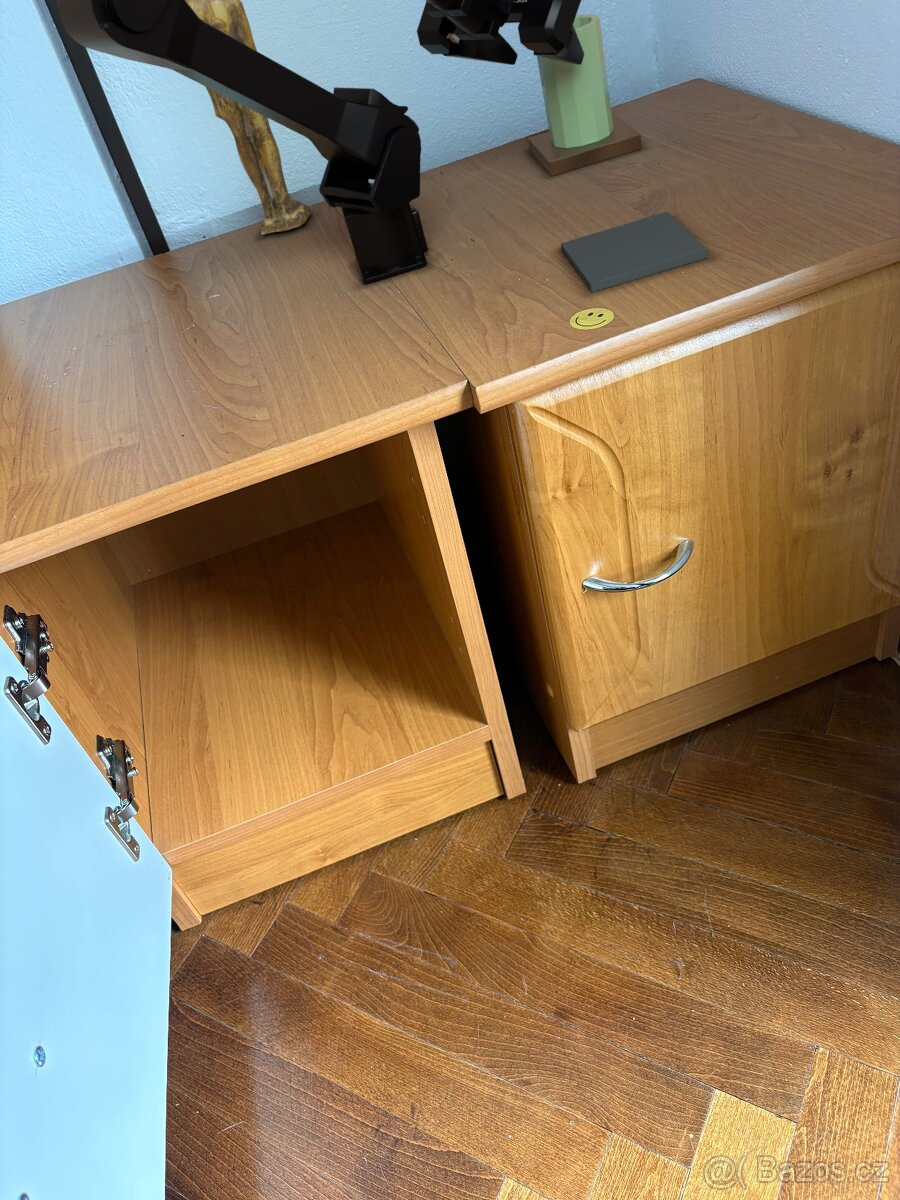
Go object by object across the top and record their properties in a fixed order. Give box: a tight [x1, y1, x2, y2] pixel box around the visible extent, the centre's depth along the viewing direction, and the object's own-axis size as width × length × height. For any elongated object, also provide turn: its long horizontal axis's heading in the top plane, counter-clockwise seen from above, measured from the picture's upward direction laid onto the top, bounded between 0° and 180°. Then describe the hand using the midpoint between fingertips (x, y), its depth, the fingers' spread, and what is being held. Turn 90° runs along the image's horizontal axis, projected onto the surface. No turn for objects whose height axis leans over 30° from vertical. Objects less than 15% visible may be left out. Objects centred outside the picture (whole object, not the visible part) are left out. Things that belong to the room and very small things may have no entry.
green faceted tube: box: [536, 13, 613, 148], centre depth 106 cm, size 7×7×11 cm
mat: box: [560, 211, 708, 293], centre depth 87 cm, size 10×10×1 cm
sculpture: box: [186, 0, 313, 236], centre depth 105 cm, size 7×6×30 cm
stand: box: [527, 111, 643, 177], centre depth 109 cm, size 10×10×6 cm
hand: (547, 59), depth 103 cm, fingers open, 9 cm apart
